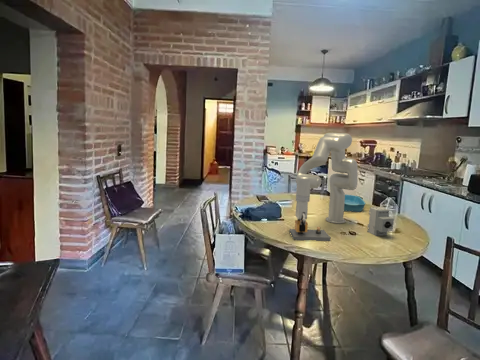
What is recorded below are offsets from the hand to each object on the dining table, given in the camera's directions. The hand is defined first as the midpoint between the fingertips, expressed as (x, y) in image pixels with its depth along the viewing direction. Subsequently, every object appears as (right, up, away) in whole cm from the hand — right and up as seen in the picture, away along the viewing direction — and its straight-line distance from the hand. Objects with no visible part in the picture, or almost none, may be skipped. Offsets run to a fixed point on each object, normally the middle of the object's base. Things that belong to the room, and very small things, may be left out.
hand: (300, 229), depth 195 cm
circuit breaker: (+48, -5, +8) cm, 49 cm away
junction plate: (+5, -4, +1) cm, 6 cm away
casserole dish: (+50, +6, +76) cm, 91 cm away
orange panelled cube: (0, -1, 0) cm, 1 cm away
